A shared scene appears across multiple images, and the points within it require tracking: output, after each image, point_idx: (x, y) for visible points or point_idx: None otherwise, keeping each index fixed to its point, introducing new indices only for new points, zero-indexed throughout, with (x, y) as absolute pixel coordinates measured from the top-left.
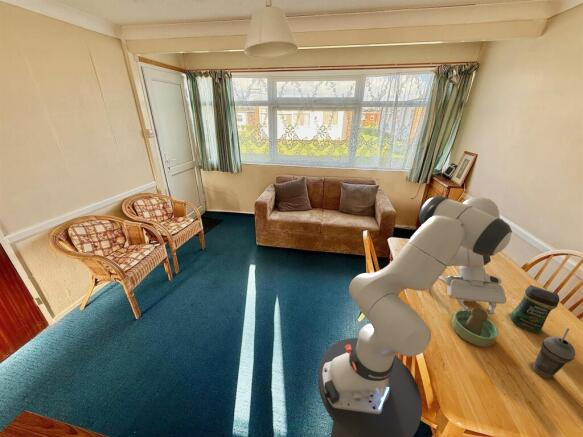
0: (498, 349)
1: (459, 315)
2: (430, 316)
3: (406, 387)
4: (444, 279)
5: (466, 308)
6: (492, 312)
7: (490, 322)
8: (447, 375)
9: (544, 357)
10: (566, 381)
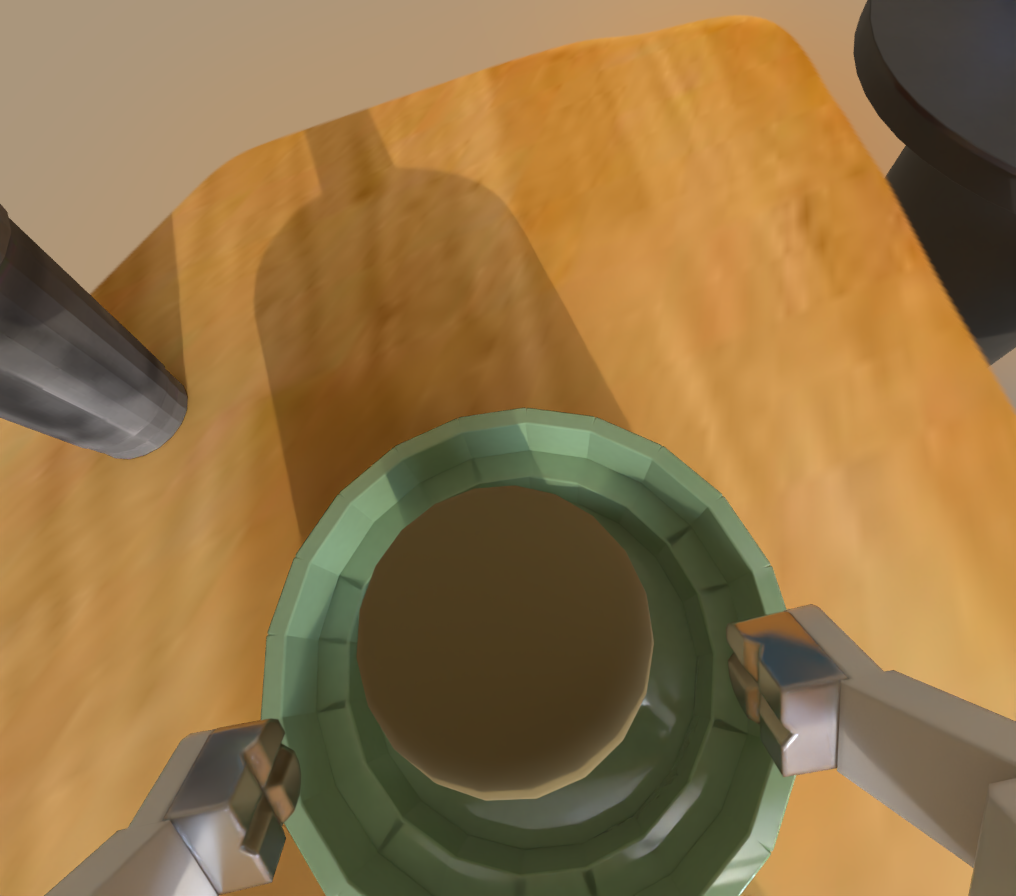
0: None
1: (672, 841)
2: None
3: (969, 74)
4: None
5: (790, 649)
6: (208, 752)
7: None
8: (778, 161)
9: (52, 270)
10: None
